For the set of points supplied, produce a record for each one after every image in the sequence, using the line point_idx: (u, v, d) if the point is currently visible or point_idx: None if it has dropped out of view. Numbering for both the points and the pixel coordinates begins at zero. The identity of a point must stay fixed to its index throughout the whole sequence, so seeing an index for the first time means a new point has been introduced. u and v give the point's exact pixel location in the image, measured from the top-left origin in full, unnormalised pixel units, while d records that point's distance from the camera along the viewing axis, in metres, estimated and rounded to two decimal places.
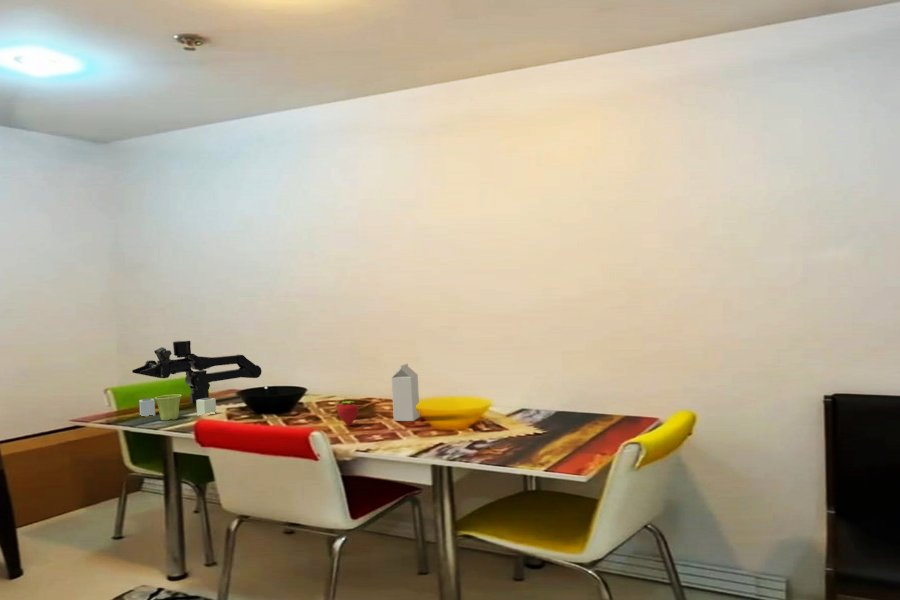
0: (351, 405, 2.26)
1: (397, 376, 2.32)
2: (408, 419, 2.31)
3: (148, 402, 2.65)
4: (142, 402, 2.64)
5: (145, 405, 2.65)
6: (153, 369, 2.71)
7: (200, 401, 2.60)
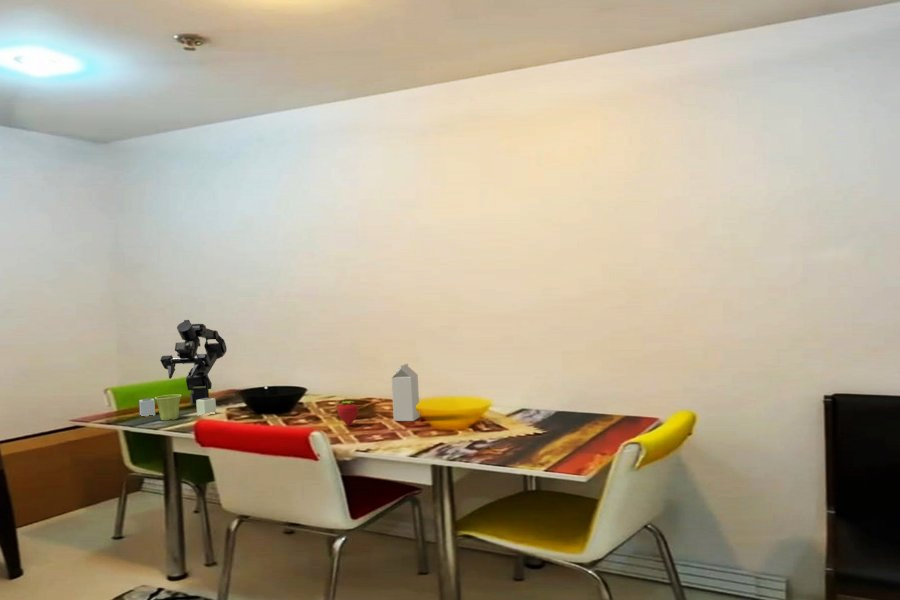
0: (351, 405, 2.26)
1: (397, 376, 2.32)
2: (408, 419, 2.31)
3: (148, 402, 2.65)
4: (142, 402, 2.64)
5: (145, 405, 2.65)
6: (197, 366, 2.73)
7: (200, 401, 2.60)
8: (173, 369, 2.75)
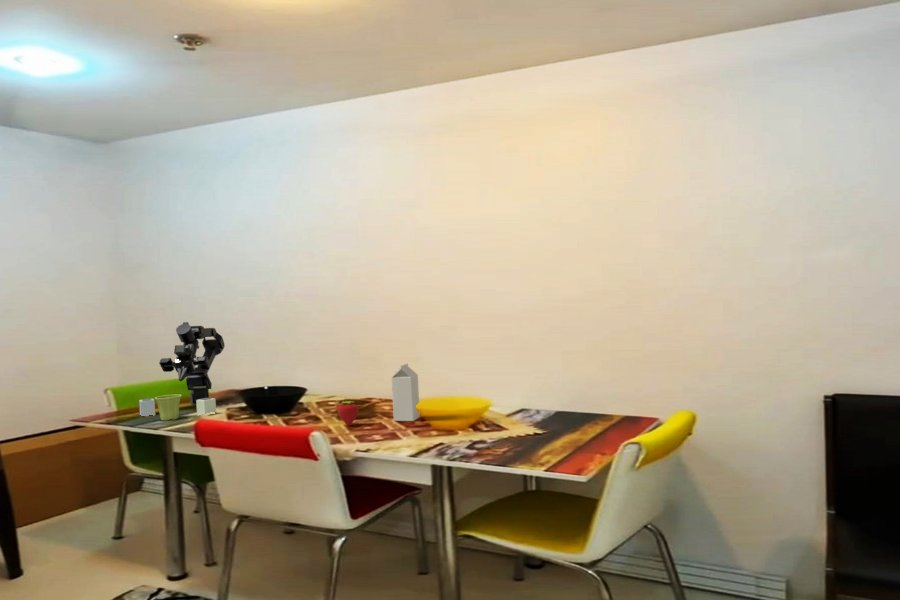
0: (351, 405, 2.26)
1: (397, 376, 2.32)
2: (408, 419, 2.31)
3: (148, 402, 2.65)
4: (142, 402, 2.64)
5: (145, 405, 2.65)
6: (186, 369, 2.71)
7: (200, 401, 2.60)
8: None
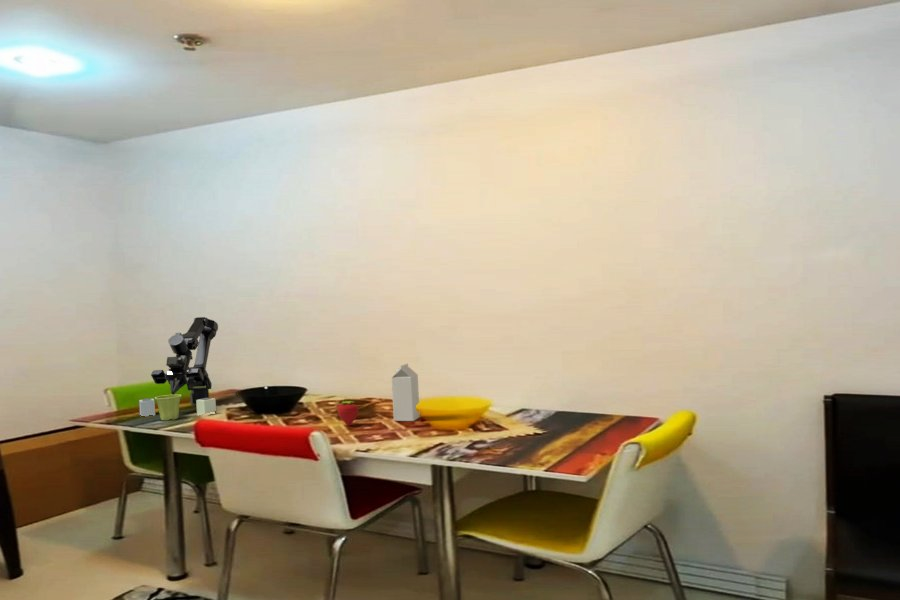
0: (351, 405, 2.26)
1: (397, 376, 2.32)
2: (408, 419, 2.31)
3: (148, 402, 2.65)
4: (142, 402, 2.64)
5: (145, 405, 2.65)
6: (179, 382, 2.63)
7: (200, 401, 2.60)
8: None
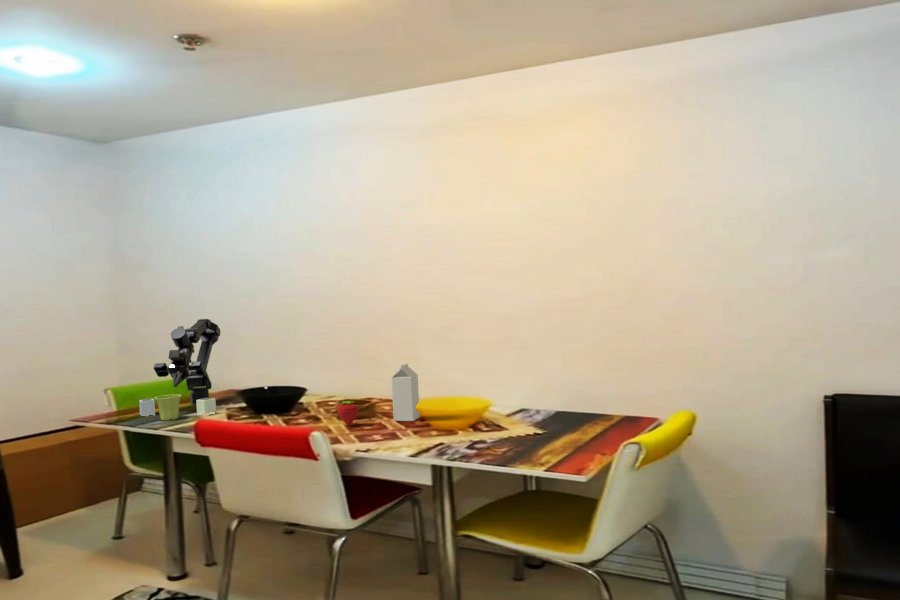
0: (351, 405, 2.26)
1: (397, 376, 2.32)
2: (408, 419, 2.31)
3: (148, 402, 2.65)
4: (142, 402, 2.64)
5: (145, 405, 2.65)
6: (181, 375, 2.66)
7: (200, 401, 2.60)
8: None
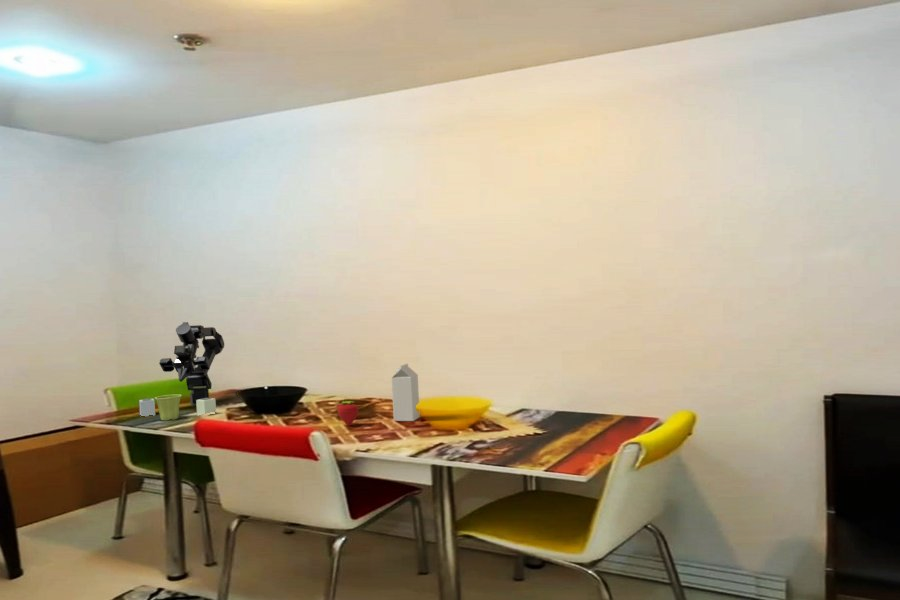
0: (351, 405, 2.26)
1: (397, 376, 2.32)
2: (408, 419, 2.31)
3: (148, 402, 2.65)
4: (142, 402, 2.64)
5: (145, 405, 2.65)
6: (186, 370, 2.71)
7: (200, 401, 2.60)
8: None
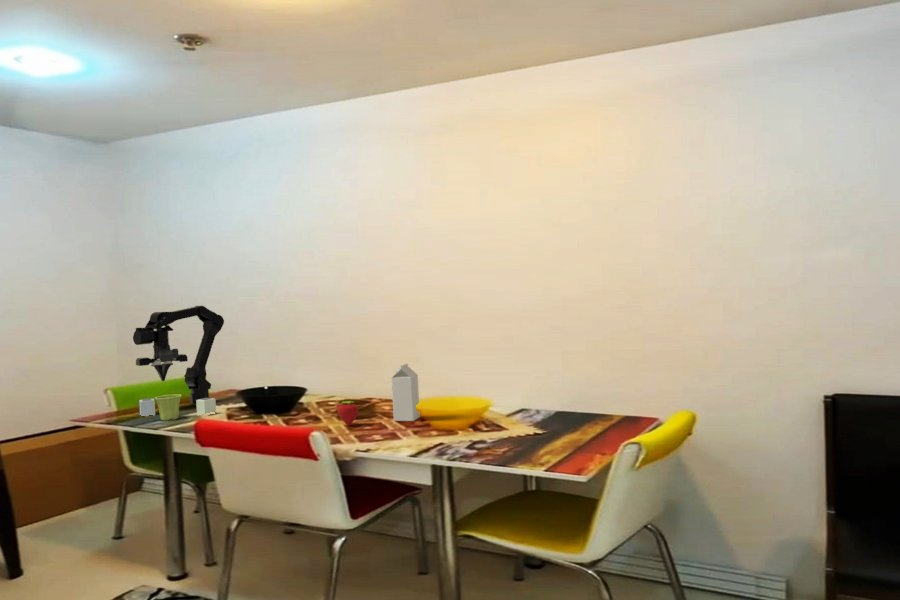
0: (351, 405, 2.26)
1: (397, 376, 2.32)
2: (408, 419, 2.31)
3: (148, 402, 2.65)
4: (142, 402, 2.64)
5: (145, 405, 2.65)
6: None
7: (200, 401, 2.60)
8: None
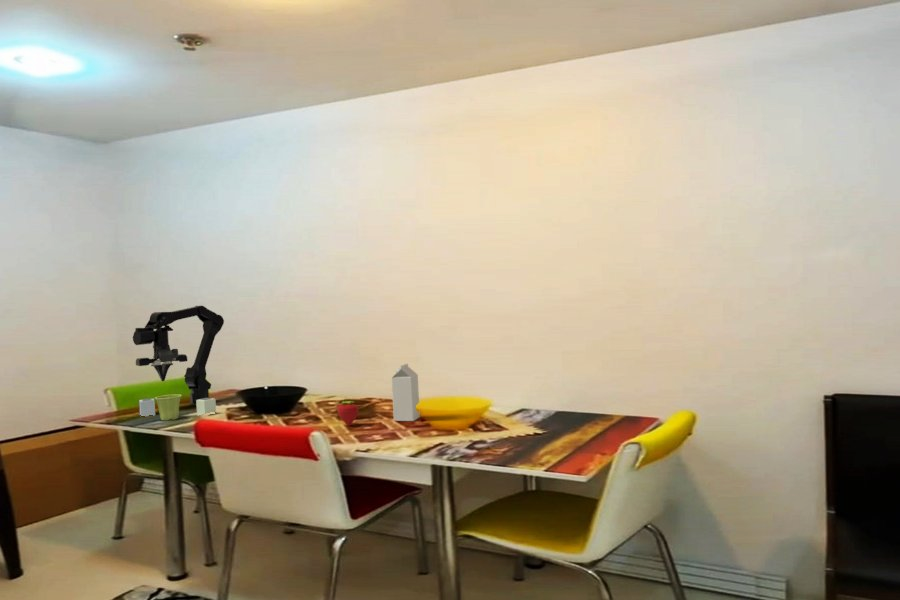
0: (351, 405, 2.26)
1: (397, 376, 2.32)
2: (408, 419, 2.31)
3: (148, 402, 2.65)
4: (142, 402, 2.64)
5: (145, 405, 2.65)
6: None
7: (200, 401, 2.60)
8: None
